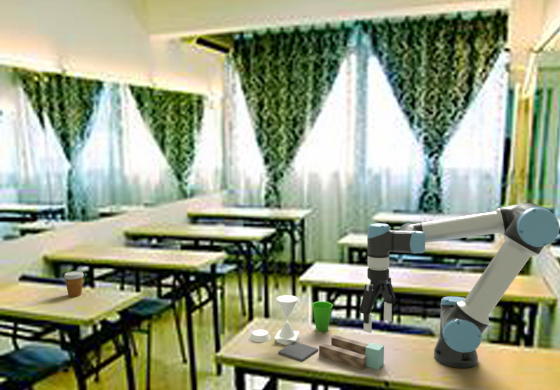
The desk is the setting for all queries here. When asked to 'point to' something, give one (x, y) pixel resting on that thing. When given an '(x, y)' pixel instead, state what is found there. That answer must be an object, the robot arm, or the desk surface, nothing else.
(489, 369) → the desk surface
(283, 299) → the hourglass
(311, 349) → the rubber mat
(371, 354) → the teal block
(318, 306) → the cup
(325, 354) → the parallel wooden bars
